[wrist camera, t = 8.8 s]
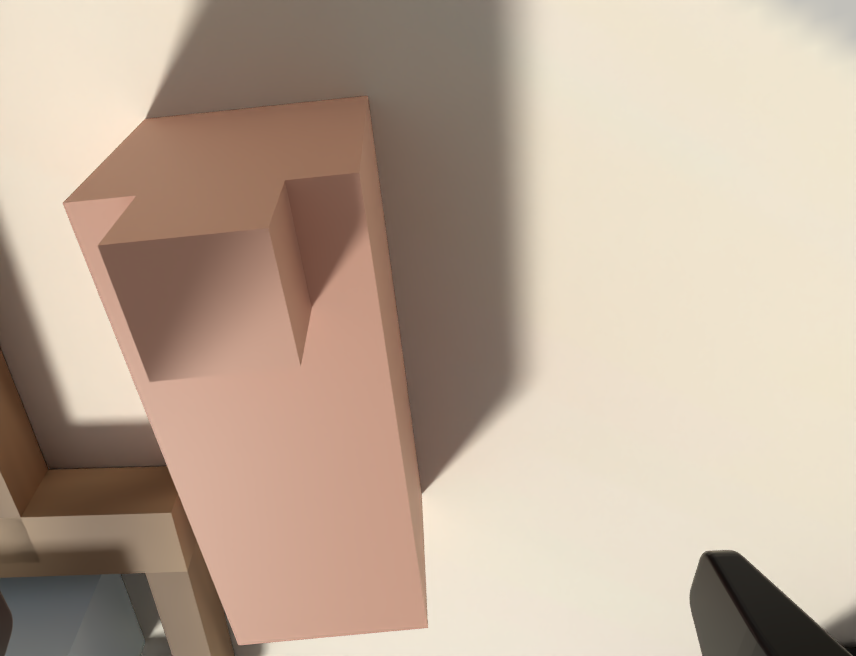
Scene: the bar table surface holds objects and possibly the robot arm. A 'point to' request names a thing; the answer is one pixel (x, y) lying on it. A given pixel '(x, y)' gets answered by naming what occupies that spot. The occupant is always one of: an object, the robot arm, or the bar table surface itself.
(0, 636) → the robot arm
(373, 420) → the block
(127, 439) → the bar table surface
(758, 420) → the bar table surface
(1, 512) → the jig
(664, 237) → the bar table surface
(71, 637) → the light blue rectangular block
